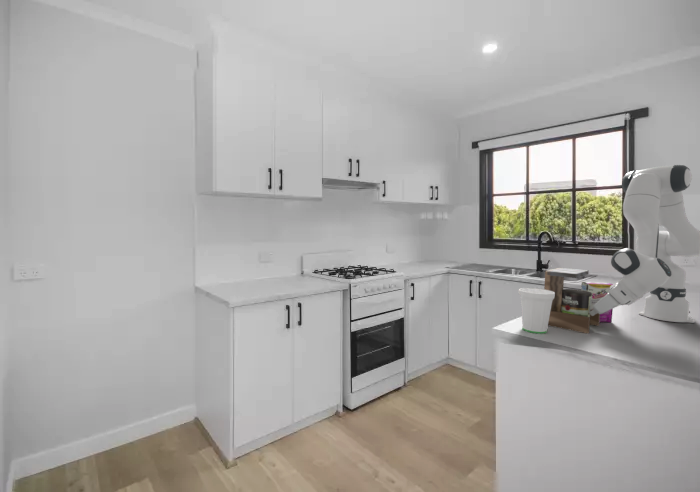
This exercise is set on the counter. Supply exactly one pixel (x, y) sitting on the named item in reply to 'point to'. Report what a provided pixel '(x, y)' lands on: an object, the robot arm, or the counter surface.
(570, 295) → the coffee can
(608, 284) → the candy bar box
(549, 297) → the cup
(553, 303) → the wooden caddy stand
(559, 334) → the counter surface
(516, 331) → the counter surface
